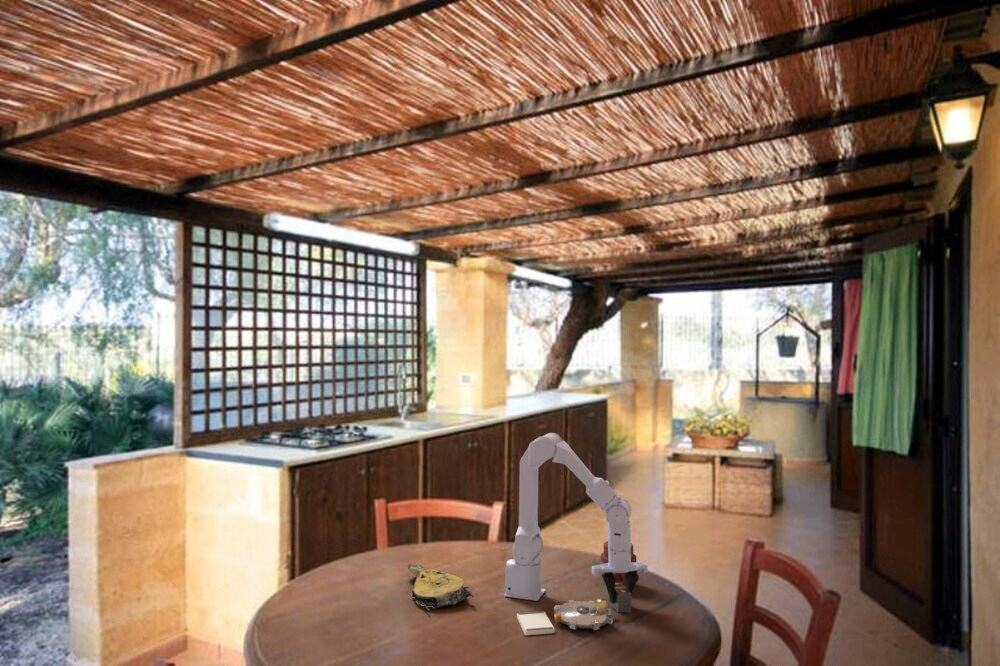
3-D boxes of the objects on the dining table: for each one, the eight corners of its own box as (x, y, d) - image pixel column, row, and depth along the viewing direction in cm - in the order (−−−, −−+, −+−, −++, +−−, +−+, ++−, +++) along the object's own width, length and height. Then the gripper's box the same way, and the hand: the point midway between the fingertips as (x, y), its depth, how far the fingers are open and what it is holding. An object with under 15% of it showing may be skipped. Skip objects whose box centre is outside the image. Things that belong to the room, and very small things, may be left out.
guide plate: (516, 617, 156) (516, 612, 156) (544, 615, 157) (544, 610, 157) (525, 635, 146) (525, 630, 146) (554, 633, 147) (554, 628, 147)
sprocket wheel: (544, 609, 158) (543, 591, 158) (596, 602, 163) (596, 584, 163) (567, 634, 144) (567, 614, 145) (624, 625, 149) (624, 606, 149)
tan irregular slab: (438, 550, 190) (475, 583, 162) (441, 568, 190) (478, 605, 163) (393, 563, 184) (423, 600, 157) (396, 583, 184) (426, 623, 157)
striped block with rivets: (608, 602, 166) (608, 582, 166) (621, 601, 166) (621, 581, 166) (618, 613, 159) (618, 592, 159) (631, 612, 159) (631, 591, 159)
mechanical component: (636, 579, 182) (636, 592, 173) (601, 577, 184) (600, 589, 175) (636, 536, 183) (636, 546, 173) (601, 534, 185) (599, 544, 175)
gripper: (639, 542, 168) (640, 593, 168) (587, 545, 166) (588, 597, 165) (650, 550, 161) (651, 604, 161) (596, 553, 159) (596, 608, 158)
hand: (619, 601), depth 162 cm, fingers closed on striped block with rivets, 3 cm apart
